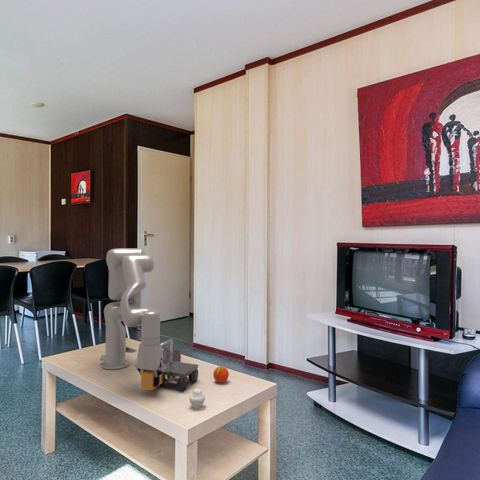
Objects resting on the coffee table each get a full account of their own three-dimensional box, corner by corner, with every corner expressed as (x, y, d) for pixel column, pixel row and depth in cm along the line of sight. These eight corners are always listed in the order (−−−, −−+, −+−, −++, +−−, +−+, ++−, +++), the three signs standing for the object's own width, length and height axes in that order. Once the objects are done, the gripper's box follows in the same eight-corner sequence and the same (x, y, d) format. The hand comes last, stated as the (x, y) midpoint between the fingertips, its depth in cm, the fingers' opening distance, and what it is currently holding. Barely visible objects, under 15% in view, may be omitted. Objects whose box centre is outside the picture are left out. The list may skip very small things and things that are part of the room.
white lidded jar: (200, 411, 143) (200, 392, 143) (186, 408, 145) (186, 390, 145) (207, 405, 149) (208, 387, 149) (193, 402, 151) (194, 384, 151)
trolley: (153, 388, 164) (153, 346, 164) (171, 375, 179) (172, 337, 179) (182, 393, 159) (183, 350, 159) (199, 380, 174) (199, 340, 174)
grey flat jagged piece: (137, 352, 217) (137, 348, 217) (127, 354, 211) (127, 351, 211) (115, 345, 229) (115, 342, 229) (105, 348, 224) (105, 344, 224)
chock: (141, 388, 156) (141, 372, 156) (152, 381, 164) (152, 366, 164) (151, 390, 155) (151, 374, 155) (162, 382, 162) (162, 367, 162)
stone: (160, 348, 187) (182, 341, 199) (152, 347, 191) (174, 340, 203) (161, 370, 187) (183, 361, 199) (153, 368, 191) (175, 360, 203)
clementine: (224, 386, 167) (225, 370, 167) (210, 384, 169) (210, 368, 169) (230, 380, 175) (230, 364, 175) (216, 378, 177) (216, 363, 177)
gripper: (127, 341, 158) (127, 385, 157) (164, 345, 152) (163, 391, 152) (138, 336, 165) (137, 379, 165) (173, 340, 159) (173, 384, 159)
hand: (150, 384), depth 158 cm, fingers closed on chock, 5 cm apart
